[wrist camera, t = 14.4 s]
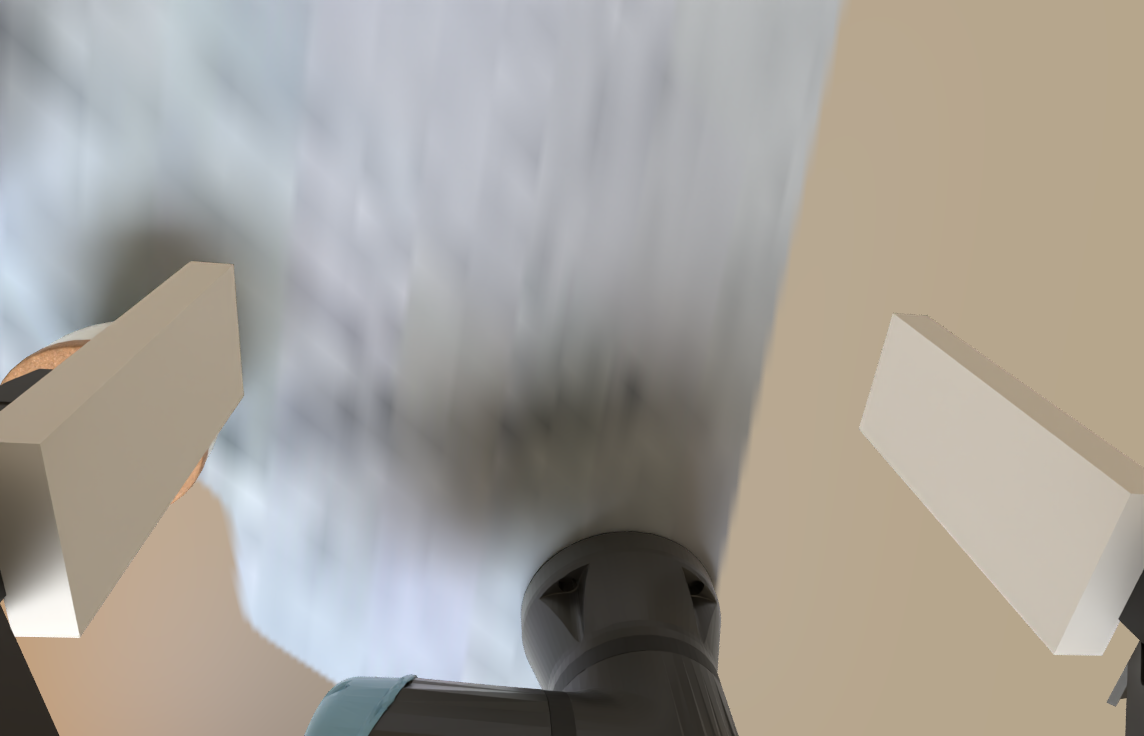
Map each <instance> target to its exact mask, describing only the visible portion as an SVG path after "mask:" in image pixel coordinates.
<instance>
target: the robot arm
mask: <svg viewBox="0 0 1144 736" xmlns="http://www.w3.org/2000/svg"><path fill="white" fill-rule="evenodd" d="M243 396H244V392H243V379H242V366H241V353H240V341H239V328H238V315H237V302H236V290H235V277H234V264H223V263H210V262H196V261H190V262H189V263H187V264H186V265H185V266H184V267H182V268H181V269H180V270H179V271H177V272H176V273H175V274H174V275H172V276H171V277H170V278H168V279H167V280H166V281H165V282H163V283H162V284H161V285H160V286H158V287H157V288H156V289H155V290H153V291H152V292H151V293H150V294H148V295H147V296H146V297H144V298H143V299H142V300H141V301H139V302H138V303H137V304H136V305H134V306H133V307H132V308H131V309H129V310H128V311H127V312H125V313H124V314H123V315H122V316H120V317H119V318H118V319H117V320H115V321H114V322H113V323H112V324H110V325H109V326H108V327H106V328H105V329H104V330H103V331H101V332H100V333H99V334H98V335H96V336H95V337H94V338H93V339H91V340H90V341H89V342H87V343H86V344H85V345H84V346H82V347H81V348H80V349H79V350H77V351H76V352H75V353H74V354H72V355H71V356H70V357H68V358H67V359H66V360H65V361H63V362H62V363H61V364H60V365H58V366H57V367H56V368H55V369H37V370H35V371H32V372H30V373H27V374H25V375H22V376H20V377H17V378H15V379H12V380H10V381H7V382H5V383H3V384H2V385H1V386H0V602H1V601H2V600H3V599H4V602H5V606H6V611H7V615H8V619H9V622H10V625H9V623H8V620H7V618H6V616H5V614H4V612H3V609H2V607H1V605H0V736H59V734H58V732H57V729H56V727H55V725H54V723H53V721H52V719H51V716H50V714H49V712H48V709H47V707H46V705H45V703H44V700H43V698H42V696H41V694H40V692H39V689H38V687H37V685H36V683H35V680H34V678H33V676H32V674H31V672H30V669H29V667H28V665H27V663H26V660H25V658H24V656H23V654H22V652H21V649H20V647H19V645H18V643H17V641H16V638H15V636H21V637H24V636H25V637H81V635H82V634H83V632H84V631H85V629H86V628H87V626H88V625H89V623H90V622H91V620H92V619H93V618H94V616H95V614H96V613H97V612H98V610H99V609H100V607H101V606H102V604H103V603H104V601H105V600H106V598H107V597H108V595H109V594H110V592H111V591H112V589H113V588H114V587H115V585H116V583H117V582H118V581H119V579H120V578H121V576H122V575H123V573H124V572H125V570H126V569H127V567H128V566H129V564H130V563H131V561H132V560H133V558H134V557H135V555H136V554H137V553H138V551H139V550H140V548H141V547H142V545H143V544H144V542H145V541H146V539H147V538H148V536H149V535H150V533H151V532H152V530H153V529H154V527H155V526H156V525H157V523H158V522H159V520H160V519H161V517H162V516H163V514H164V513H165V511H166V510H167V508H168V507H169V505H170V504H171V502H172V501H173V499H174V498H175V496H176V495H177V494H178V492H179V491H180V489H181V488H182V486H183V485H184V483H185V482H186V480H187V479H188V477H189V476H190V474H191V473H192V471H193V470H194V468H195V467H196V465H197V464H198V463H199V461H200V460H201V458H202V457H203V455H204V454H205V452H206V451H207V449H208V448H209V446H210V445H211V443H212V442H213V440H214V439H215V437H216V436H217V434H218V433H219V432H220V430H221V429H222V427H223V426H224V424H225V423H226V421H227V420H228V418H229V417H230V415H231V414H232V412H233V411H234V409H235V408H236V406H237V405H238V404H239V402H240V401H241V399H242V398H243ZM859 430H860V431H861V432H862V433H863V435H864V436H865V437H866V438H867V439H868V440H869V441H870V443H871V444H872V445H873V446H874V447H875V448H876V450H877V451H878V452H879V453H880V454H881V455H882V456H883V458H884V459H885V460H886V461H887V462H888V463H889V464H890V466H891V467H892V468H893V469H894V470H895V472H896V473H897V474H898V475H899V476H900V477H901V478H902V480H903V481H904V482H905V483H906V484H907V485H908V487H909V488H910V489H911V490H912V491H913V492H914V493H915V495H916V496H917V497H918V498H919V499H920V500H921V502H922V503H923V504H924V505H925V506H926V507H927V509H928V510H929V511H930V512H931V513H932V514H933V515H934V517H935V518H936V519H937V520H938V521H939V522H940V524H941V525H942V526H943V527H944V528H945V529H946V531H947V532H948V533H949V534H950V535H951V536H952V537H953V539H954V540H955V541H956V542H957V543H958V544H959V546H960V547H961V548H962V549H963V550H964V551H965V552H966V554H967V555H968V556H969V557H970V558H971V559H972V561H973V562H975V564H976V565H977V566H978V568H979V569H980V570H981V571H982V572H983V573H984V574H985V575H986V577H987V578H988V579H989V580H990V581H991V583H992V584H993V585H994V586H995V587H996V588H997V589H998V591H999V592H1000V593H1001V594H1002V595H1003V596H1004V597H1005V599H1006V600H1007V601H1008V602H1009V603H1010V604H1011V606H1012V607H1013V608H1014V609H1015V610H1016V611H1017V613H1018V614H1019V615H1020V616H1021V617H1022V618H1023V620H1024V621H1025V622H1026V623H1027V624H1028V625H1029V627H1031V629H1032V630H1033V631H1034V632H1035V633H1036V635H1038V637H1039V638H1040V639H1041V640H1042V641H1043V643H1044V644H1045V645H1046V646H1047V647H1048V648H1049V649H1050V651H1051V652H1052V653H1053V654H1054V655H1101V656H1102V655H1103V653H1104V651H1105V649H1106V647H1107V645H1108V643H1109V641H1110V639H1111V637H1112V635H1113V634H1114V632H1115V630H1116V627H1117V626H1118V624H1119V622H1120V621H1121V622H1122V623H1123V624H1124V625H1125V626H1126V627H1127V628H1128V629H1129V630H1130V631H1131V632H1132V633H1133V634H1134V635H1135V636H1136V637H1137V638H1138V639H1139V640H1140V641H1139V643H1138V645H1137V647H1136V648H1135V650H1134V652H1133V654H1132V656H1131V658H1130V660H1129V662H1128V663H1127V665H1126V667H1125V669H1124V671H1123V673H1122V675H1121V676H1120V678H1119V680H1118V682H1117V684H1116V686H1115V688H1114V690H1113V691H1112V693H1111V695H1110V697H1109V699H1108V701H1107V703H1109V704H1111V705H1113V706H1116V705H1117V704H1118V702H1119V700H1120V699H1123V698H1127V703H1126V705H1127V706H1126V735H1125V736H1144V468H1143V467H1142V466H1141V465H1139V464H1138V463H1136V462H1135V461H1133V460H1132V459H1130V458H1129V457H1128V456H1126V455H1125V454H1123V453H1122V452H1121V451H1119V450H1117V449H1116V448H1115V447H1113V446H1112V445H1110V444H1109V443H1108V442H1106V441H1105V440H1104V439H1102V438H1101V437H1099V436H1098V435H1096V434H1095V433H1094V432H1092V431H1091V430H1089V429H1088V428H1086V427H1085V426H1084V425H1082V424H1081V423H1079V422H1078V421H1077V420H1075V419H1074V418H1072V417H1071V416H1069V415H1068V414H1066V413H1065V412H1064V411H1062V410H1061V409H1060V408H1058V407H1057V406H1055V405H1054V404H1052V403H1051V402H1050V401H1048V400H1047V399H1045V398H1044V397H1042V396H1041V395H1040V394H1038V393H1037V392H1035V391H1034V390H1033V389H1031V388H1030V387H1028V386H1027V385H1025V384H1024V383H1023V382H1021V381H1020V380H1018V379H1017V378H1015V377H1014V376H1013V375H1011V374H1010V373H1008V372H1007V371H1005V370H1004V369H1002V368H1001V367H1000V366H998V365H997V364H995V363H994V362H993V361H991V360H990V359H988V358H987V357H986V356H984V355H982V354H981V353H980V352H978V351H977V350H976V349H974V348H973V347H971V346H970V345H968V344H967V343H966V342H964V341H963V340H961V339H960V338H959V337H957V336H956V335H954V334H953V333H952V332H950V331H948V330H947V329H946V328H944V327H943V326H941V325H940V324H939V323H937V322H936V321H934V320H933V319H932V318H930V317H929V316H926V315H913V314H898V313H893V315H892V318H891V322H890V325H889V329H888V332H887V335H886V339H885V342H884V345H883V349H882V352H881V356H880V359H879V362H878V366H877V369H876V373H875V376H874V379H873V383H872V386H871V389H870V393H869V396H868V400H867V403H866V406H865V410H864V413H863V417H862V420H861V423H860V427H859ZM10 626H11V627H10ZM521 626H522V641H523V646H524V650H525V654H526V657H527V659H528V662H529V664H530V666H531V668H532V670H533V672H534V674H535V676H536V678H537V680H538V682H539V684H540V686H541V688H542V689H531V688H518V687H506V686H495V685H484V684H474V683H463V682H453V681H443V680H432V679H422V678H418V677H417V676H416V675H407V676H404V677H402V678H387V677H352V678H348V679H346V680H343V681H341V682H340V683H338V684H337V685H336V686H334V687H333V688H332V689H331V690H330V691H329V692H328V693H327V695H326V696H325V697H324V698H323V700H322V701H321V703H320V704H319V706H318V708H317V710H316V711H315V713H314V715H313V717H312V719H311V722H310V724H309V726H308V728H307V730H306V733H305V735H304V736H738V733H737V730H736V727H735V724H734V721H733V718H732V715H731V712H730V709H729V706H728V704H727V700H726V697H725V695H724V692H723V689H722V686H721V683H720V680H719V677H718V673H717V670H718V655H719V641H720V627H721V614H720V607H719V602H718V599H717V595H716V593H715V590H714V587H713V585H712V582H711V579H710V577H709V575H708V573H707V571H706V569H705V568H704V566H703V565H702V563H701V562H700V561H699V560H698V559H697V558H696V557H695V556H694V555H693V554H692V553H691V552H690V551H688V550H687V549H685V548H684V547H682V546H681V545H679V544H677V543H675V542H673V541H671V540H668V539H666V538H663V537H660V536H656V535H652V534H647V533H640V532H615V533H608V534H602V535H598V536H594V537H591V538H587V539H585V540H582V541H579V542H577V543H575V544H573V545H571V546H569V547H567V548H565V549H564V550H562V551H560V552H559V553H558V554H556V555H555V556H553V557H552V558H551V559H550V560H549V561H547V562H546V563H545V564H544V565H543V566H542V567H541V569H540V570H539V571H538V572H537V573H536V575H535V576H534V577H533V579H532V581H531V582H530V584H529V586H528V588H527V590H526V593H525V595H524V599H523V603H522V609H521Z"/></svg>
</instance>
